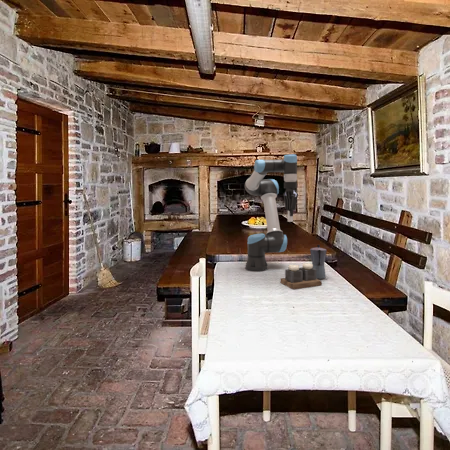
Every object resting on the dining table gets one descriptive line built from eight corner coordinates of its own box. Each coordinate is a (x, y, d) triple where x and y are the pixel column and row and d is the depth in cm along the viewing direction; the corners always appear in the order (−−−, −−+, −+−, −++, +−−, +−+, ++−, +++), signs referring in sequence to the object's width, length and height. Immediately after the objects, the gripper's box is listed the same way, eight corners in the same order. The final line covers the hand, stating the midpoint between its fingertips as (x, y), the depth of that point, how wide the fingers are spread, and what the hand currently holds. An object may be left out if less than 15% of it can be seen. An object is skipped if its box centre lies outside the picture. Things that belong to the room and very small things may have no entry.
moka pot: (324, 274, 212) (324, 242, 210) (329, 281, 197) (329, 247, 194) (308, 274, 213) (308, 242, 210) (312, 281, 198) (312, 247, 195)
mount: (280, 282, 196) (280, 268, 195) (307, 279, 202) (307, 265, 201) (293, 289, 183) (293, 274, 182) (321, 285, 189) (321, 270, 188)
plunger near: (286, 279, 192) (286, 265, 191) (295, 278, 194) (295, 264, 193) (292, 281, 187) (292, 267, 186) (300, 280, 189) (300, 266, 188)
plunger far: (300, 277, 195) (300, 263, 194) (308, 276, 197) (308, 262, 196) (306, 279, 190) (306, 265, 189) (314, 278, 192) (314, 264, 191)
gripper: (279, 181, 203) (279, 220, 206) (290, 181, 191) (290, 223, 193) (290, 181, 205) (289, 220, 208) (302, 181, 193) (301, 222, 196)
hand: (290, 221), depth 201 cm, fingers closed
